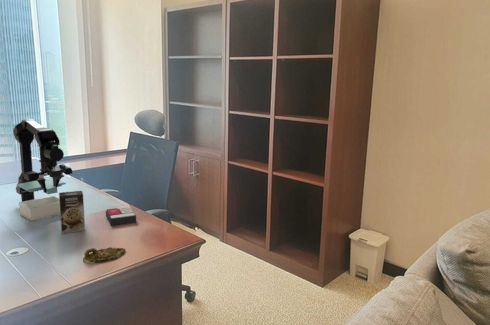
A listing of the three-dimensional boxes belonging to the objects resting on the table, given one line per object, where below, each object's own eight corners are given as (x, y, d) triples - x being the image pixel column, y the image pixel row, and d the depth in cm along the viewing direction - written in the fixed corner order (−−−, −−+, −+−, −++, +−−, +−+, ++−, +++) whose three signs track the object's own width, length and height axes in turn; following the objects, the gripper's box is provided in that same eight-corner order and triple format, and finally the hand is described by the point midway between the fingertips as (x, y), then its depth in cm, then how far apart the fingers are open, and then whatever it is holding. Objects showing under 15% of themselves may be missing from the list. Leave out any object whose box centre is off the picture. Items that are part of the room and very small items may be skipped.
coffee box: (61, 234, 154) (58, 196, 151) (61, 228, 160) (58, 192, 157) (85, 230, 159) (83, 194, 155) (84, 225, 164) (82, 189, 161)
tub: (20, 214, 174) (19, 202, 173) (55, 206, 186) (54, 195, 185) (31, 221, 167) (30, 208, 165) (67, 212, 179) (66, 200, 178)
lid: (17, 189, 171) (16, 184, 171) (53, 182, 184) (53, 177, 183) (33, 197, 161) (32, 191, 160) (71, 189, 173) (70, 184, 173)
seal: (119, 249, 145) (79, 260, 135) (118, 238, 144) (78, 247, 135) (130, 256, 138) (88, 267, 128) (129, 243, 137) (87, 254, 128)
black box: (129, 205, 181) (136, 214, 168) (129, 214, 182) (136, 223, 169) (105, 208, 176) (110, 217, 163) (105, 217, 177) (111, 227, 164)
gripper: (32, 163, 153) (36, 200, 156) (77, 157, 167) (79, 191, 171) (21, 159, 160) (25, 194, 163) (65, 154, 174) (67, 186, 177)
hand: (50, 191), depth 168 cm, fingers closed on lid, 4 cm apart
